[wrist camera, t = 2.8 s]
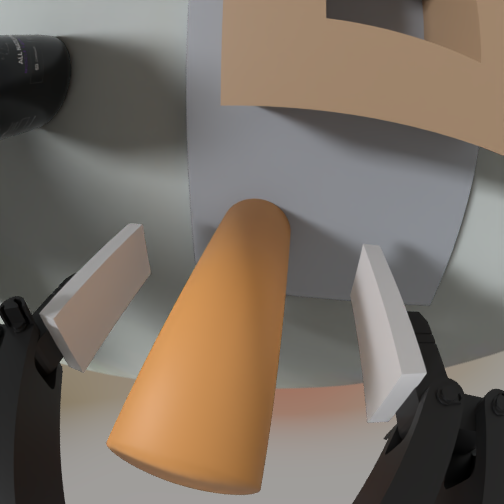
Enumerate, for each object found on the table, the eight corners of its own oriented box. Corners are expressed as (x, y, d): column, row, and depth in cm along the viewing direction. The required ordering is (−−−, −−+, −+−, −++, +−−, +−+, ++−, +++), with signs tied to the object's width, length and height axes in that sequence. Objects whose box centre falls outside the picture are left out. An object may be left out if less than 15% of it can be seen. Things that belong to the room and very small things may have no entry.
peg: (222, 257, 16) (134, 470, 6) (221, 196, 14) (80, 420, 4) (287, 263, 16) (257, 499, 5) (293, 201, 14) (265, 473, 4)
